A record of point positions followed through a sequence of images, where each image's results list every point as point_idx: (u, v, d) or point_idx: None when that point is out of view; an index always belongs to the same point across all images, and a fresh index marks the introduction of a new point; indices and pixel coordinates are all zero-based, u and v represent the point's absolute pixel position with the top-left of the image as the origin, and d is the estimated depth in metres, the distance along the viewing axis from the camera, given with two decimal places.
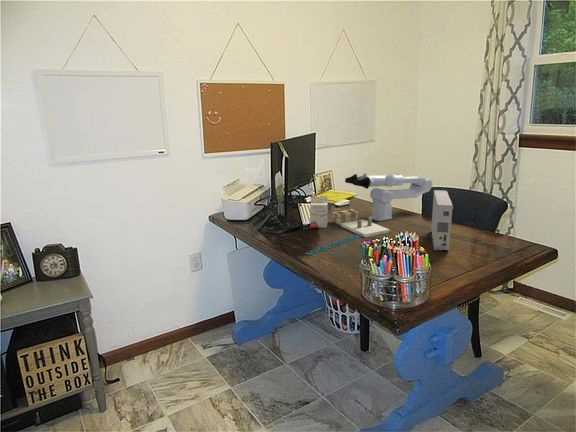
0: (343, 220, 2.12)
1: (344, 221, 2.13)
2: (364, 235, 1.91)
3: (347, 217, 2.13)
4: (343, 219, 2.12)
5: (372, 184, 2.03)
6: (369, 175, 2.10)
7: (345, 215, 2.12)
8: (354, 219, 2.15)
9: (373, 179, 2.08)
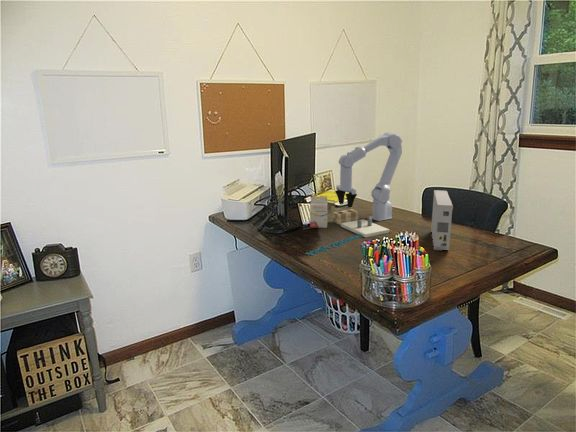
0: (343, 220, 2.12)
1: (344, 221, 2.13)
2: (364, 235, 1.91)
3: (347, 217, 2.13)
4: (343, 219, 2.12)
5: (355, 192, 2.05)
6: (341, 184, 2.09)
7: (345, 215, 2.12)
8: (354, 219, 2.15)
9: (346, 183, 2.08)
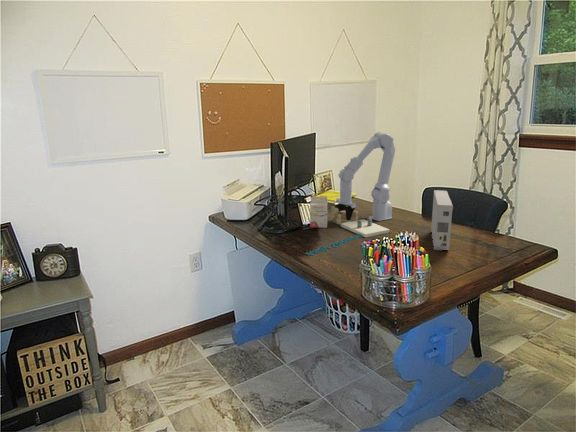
0: (343, 220, 2.12)
1: (344, 221, 2.13)
2: (364, 235, 1.91)
3: None
4: (343, 219, 2.12)
5: (354, 206, 2.07)
6: (341, 197, 2.11)
7: (345, 215, 2.12)
8: (354, 219, 2.15)
9: (346, 196, 2.10)
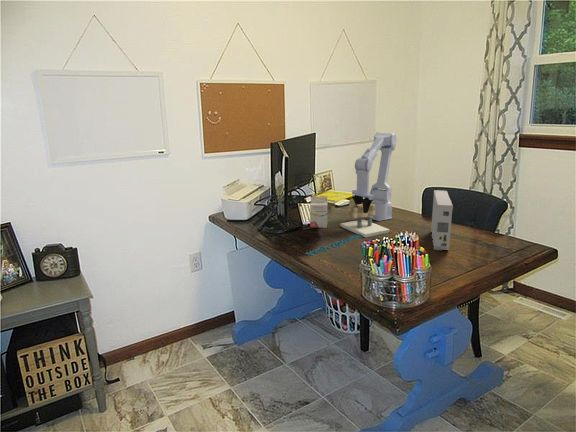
0: (359, 214, 1.98)
1: (361, 215, 1.99)
2: (364, 235, 1.91)
3: None
4: (359, 213, 1.98)
5: (372, 198, 1.93)
6: (357, 188, 1.97)
7: (362, 209, 1.98)
8: (371, 213, 2.01)
9: (363, 187, 1.96)
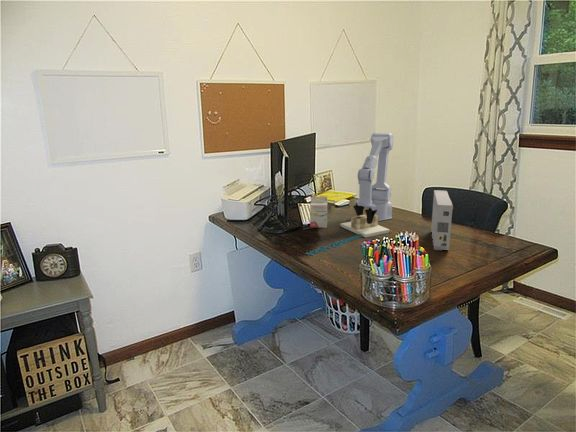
0: (362, 225, 1.98)
1: (363, 226, 1.98)
2: (364, 235, 1.91)
3: None
4: (362, 224, 1.98)
5: (375, 208, 1.93)
6: (360, 199, 1.97)
7: (364, 220, 1.98)
8: (374, 224, 2.01)
9: (366, 198, 1.95)
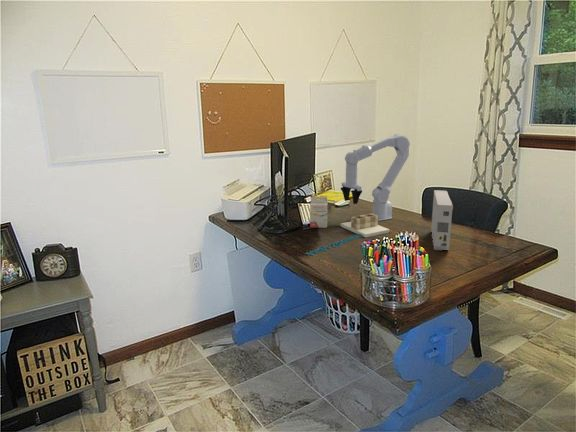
0: (362, 225, 1.98)
1: (363, 226, 1.98)
2: (364, 235, 1.91)
3: (367, 222, 1.99)
4: (362, 224, 1.98)
5: (360, 189, 2.08)
6: (346, 180, 2.12)
7: (364, 220, 1.98)
8: (374, 224, 2.01)
9: (352, 179, 2.10)
